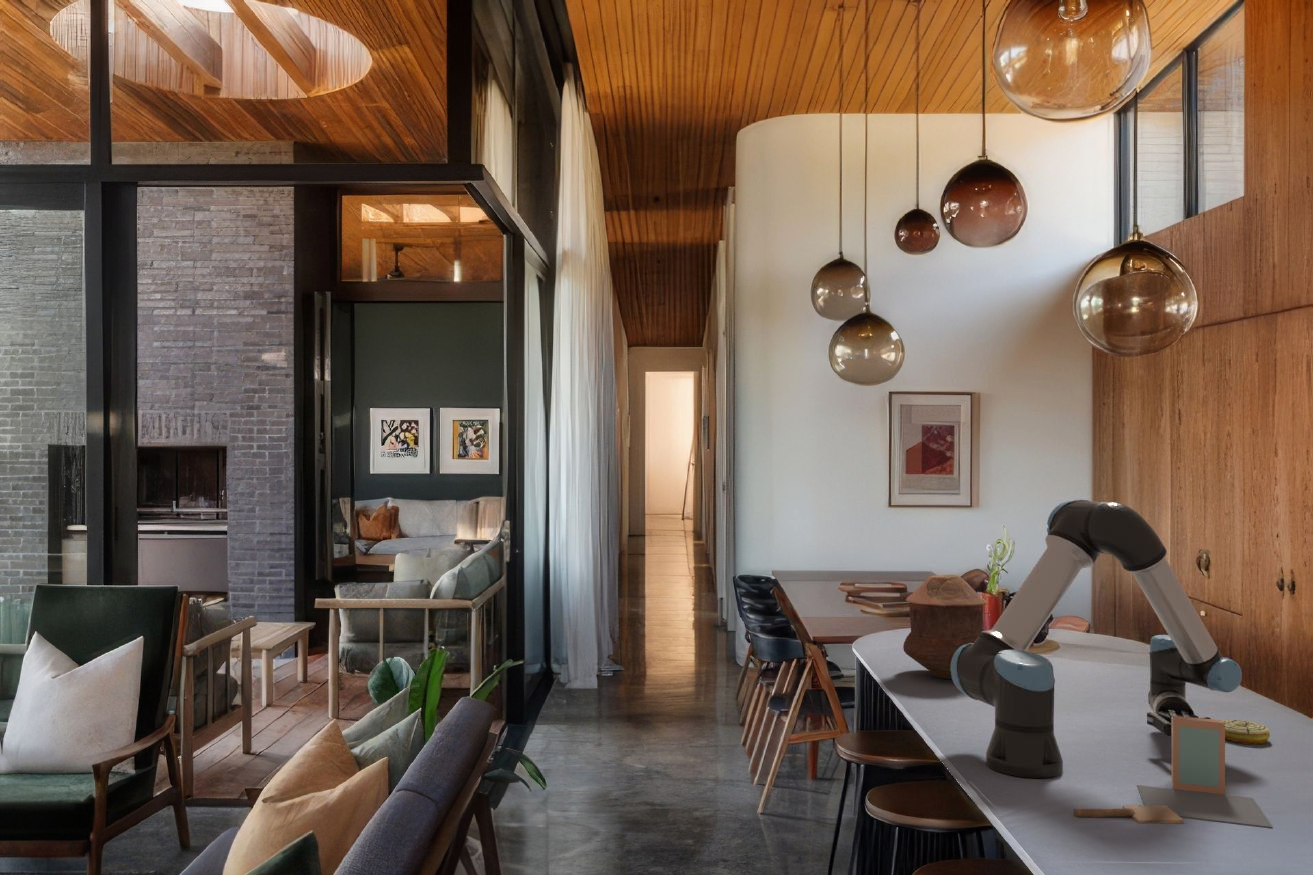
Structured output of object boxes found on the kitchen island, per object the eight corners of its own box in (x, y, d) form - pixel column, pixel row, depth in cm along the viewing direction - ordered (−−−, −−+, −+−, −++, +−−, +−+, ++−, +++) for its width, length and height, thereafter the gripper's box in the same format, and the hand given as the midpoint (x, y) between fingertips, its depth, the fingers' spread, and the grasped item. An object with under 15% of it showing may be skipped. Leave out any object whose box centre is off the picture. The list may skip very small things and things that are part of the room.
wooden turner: (1082, 824, 177) (1082, 816, 177) (1068, 809, 183) (1068, 802, 183) (1183, 822, 177) (1183, 815, 176) (1166, 808, 183) (1166, 801, 182)
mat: (1146, 813, 181) (1146, 811, 181) (1137, 786, 196) (1137, 784, 196) (1272, 829, 174) (1272, 826, 174) (1252, 799, 189) (1252, 797, 189)
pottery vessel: (1000, 688, 280) (1000, 581, 280) (907, 684, 284) (907, 579, 284) (984, 668, 305) (985, 571, 306) (899, 665, 309) (900, 569, 310)
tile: (1173, 789, 195) (1173, 718, 195) (1171, 786, 197) (1171, 715, 197) (1225, 795, 192) (1225, 722, 192) (1222, 791, 194) (1222, 720, 194)
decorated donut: (1234, 731, 238) (1234, 715, 238) (1279, 742, 229) (1279, 726, 229) (1206, 736, 234) (1206, 720, 234) (1251, 748, 224) (1251, 731, 224)
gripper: (1206, 731, 223) (1226, 762, 201) (1142, 726, 228) (1155, 755, 206) (1205, 698, 223) (1226, 725, 201) (1141, 693, 228) (1155, 719, 206)
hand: (1190, 740), depth 203 cm, fingers closed
